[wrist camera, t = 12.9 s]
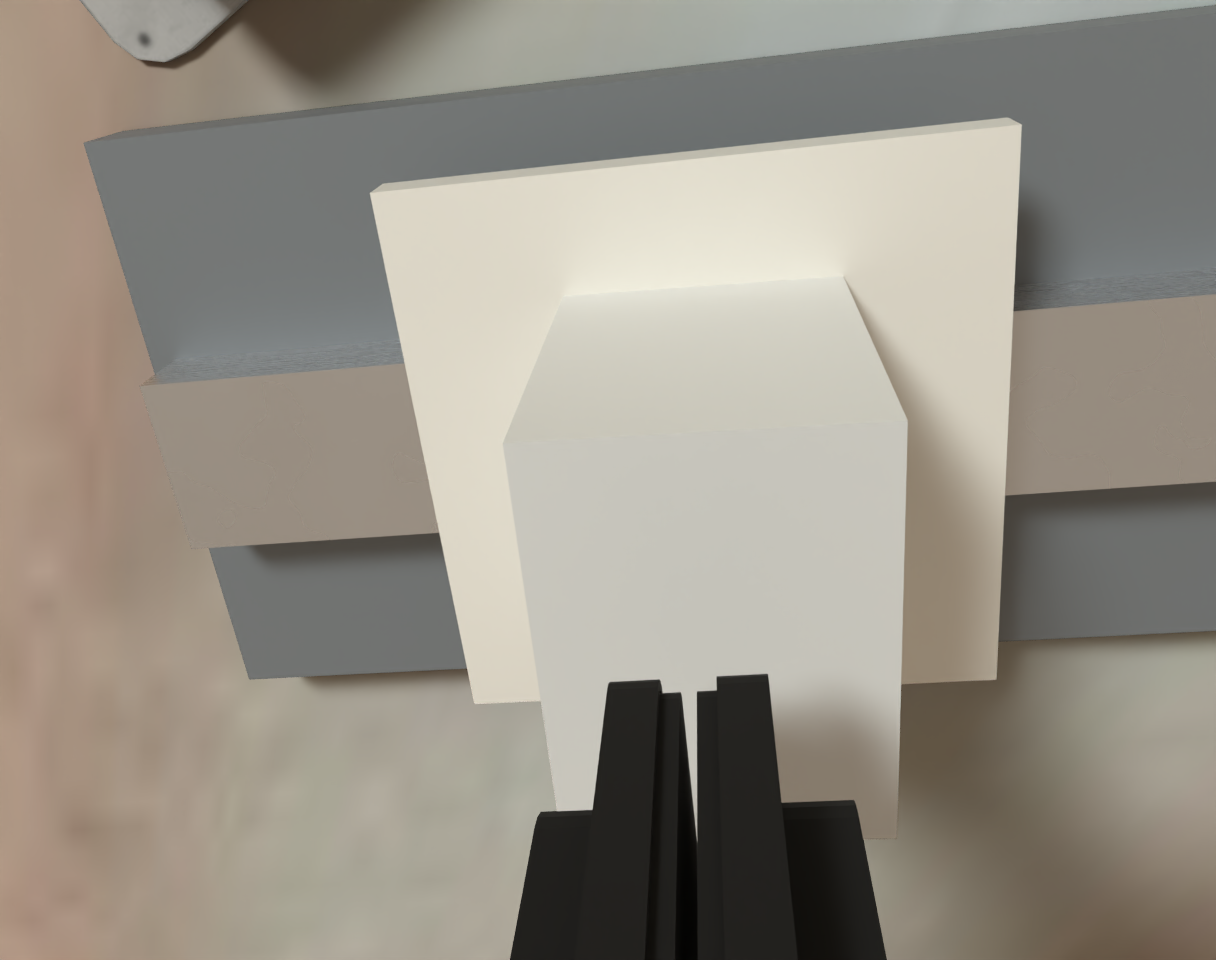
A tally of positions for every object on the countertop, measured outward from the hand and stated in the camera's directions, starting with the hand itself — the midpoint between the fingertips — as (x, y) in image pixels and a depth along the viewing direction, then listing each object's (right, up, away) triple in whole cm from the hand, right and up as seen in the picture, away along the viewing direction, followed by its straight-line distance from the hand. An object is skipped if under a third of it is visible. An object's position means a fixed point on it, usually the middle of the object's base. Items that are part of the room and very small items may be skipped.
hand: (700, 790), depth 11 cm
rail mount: (+1, +5, +11) cm, 12 cm away
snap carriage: (+1, +4, +10) cm, 11 cm away
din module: (+1, +4, +7) cm, 8 cm away
